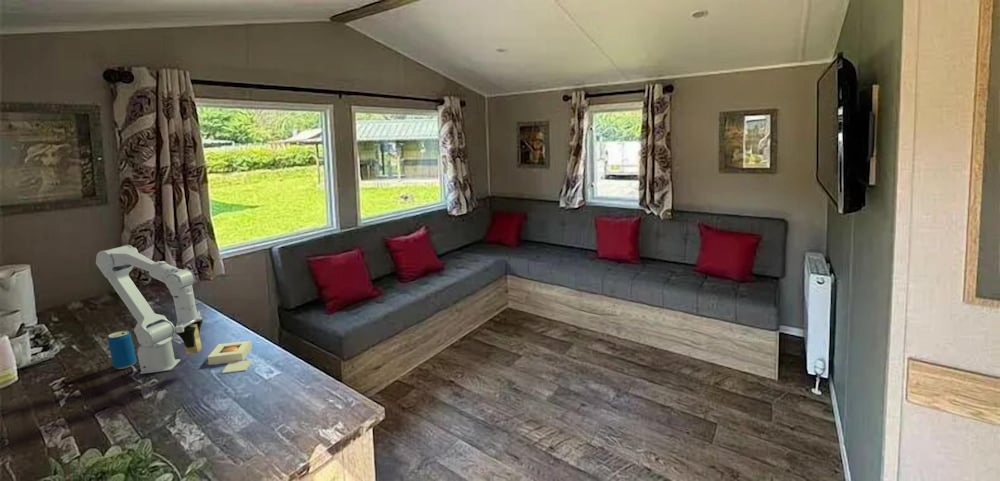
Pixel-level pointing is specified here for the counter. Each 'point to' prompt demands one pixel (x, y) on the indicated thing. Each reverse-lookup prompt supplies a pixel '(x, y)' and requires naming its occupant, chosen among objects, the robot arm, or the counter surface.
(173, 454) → the counter surface
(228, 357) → the cream square frame
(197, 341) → the wood grain block
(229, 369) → the rubber mat
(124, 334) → the beverage can
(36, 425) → the counter surface
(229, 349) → the button
